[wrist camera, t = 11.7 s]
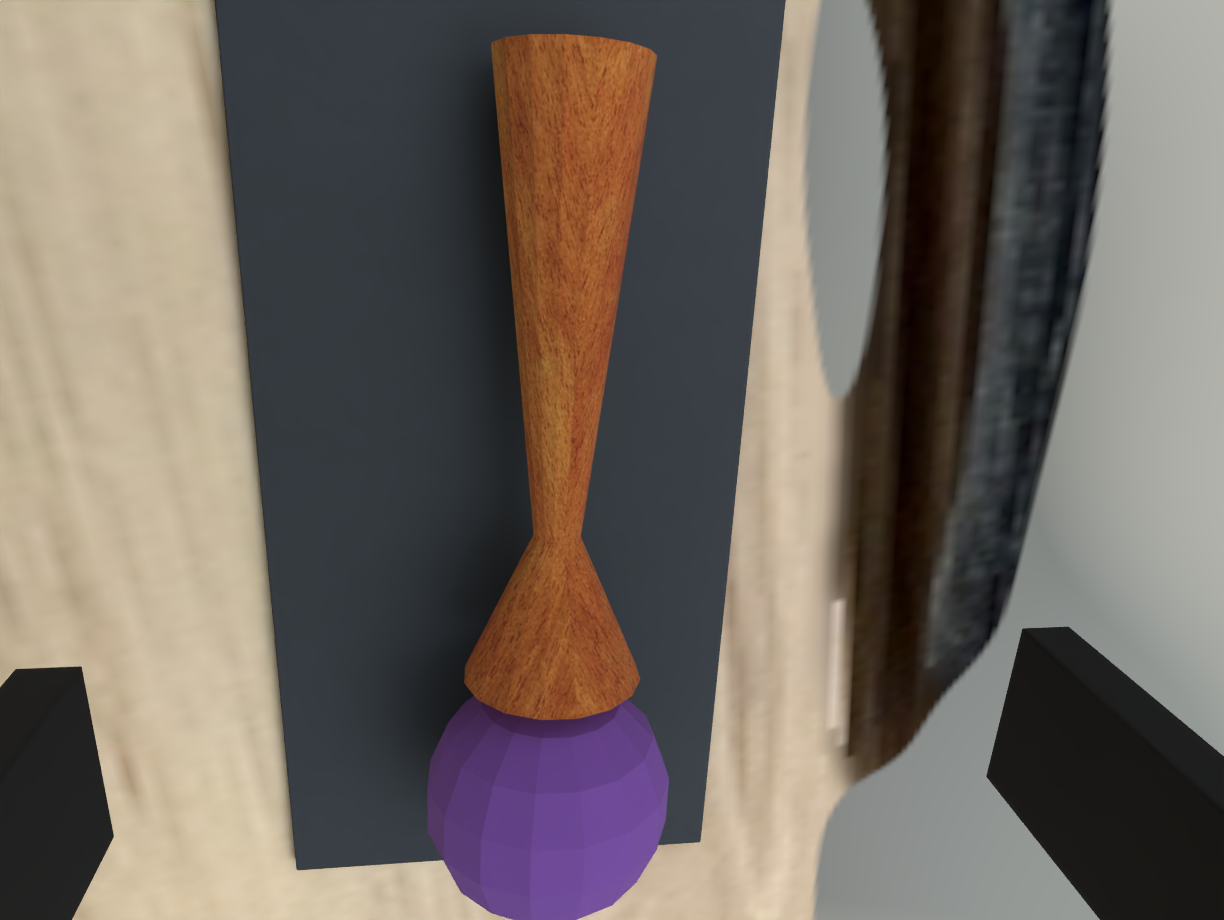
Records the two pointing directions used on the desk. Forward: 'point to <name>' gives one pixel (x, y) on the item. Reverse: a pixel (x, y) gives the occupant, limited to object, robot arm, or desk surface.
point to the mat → (476, 375)
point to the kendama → (557, 519)
